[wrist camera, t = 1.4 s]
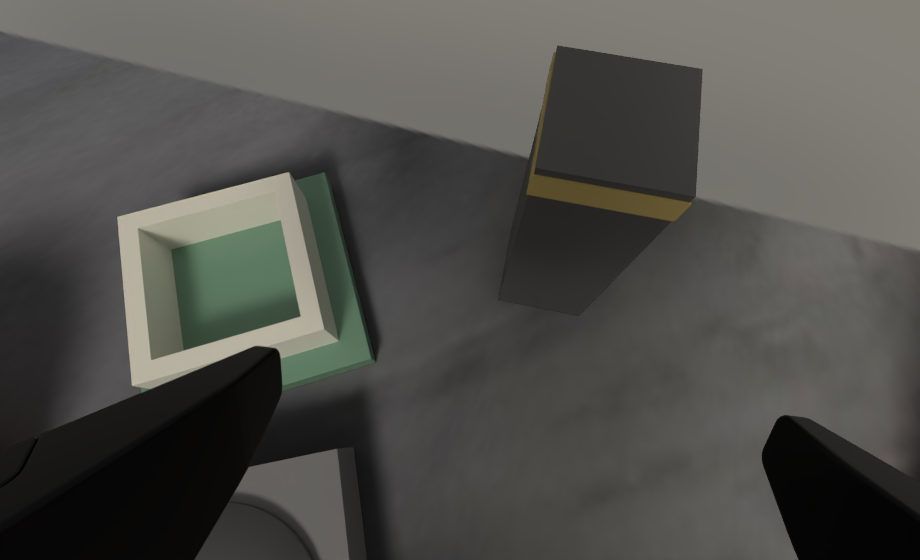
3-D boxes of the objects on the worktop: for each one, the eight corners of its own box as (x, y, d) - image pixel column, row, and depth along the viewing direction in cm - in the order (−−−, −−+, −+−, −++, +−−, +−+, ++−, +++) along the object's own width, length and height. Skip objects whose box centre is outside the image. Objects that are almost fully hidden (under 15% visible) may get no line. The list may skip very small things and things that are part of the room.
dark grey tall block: (579, 316, 23) (697, 198, 12) (497, 300, 23) (533, 169, 12) (590, 231, 24) (705, 51, 13) (513, 216, 25) (559, 27, 13)
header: (375, 362, 22) (360, 348, 19) (161, 428, 21) (102, 426, 18) (330, 184, 25) (310, 143, 22) (141, 235, 24) (87, 200, 21)
